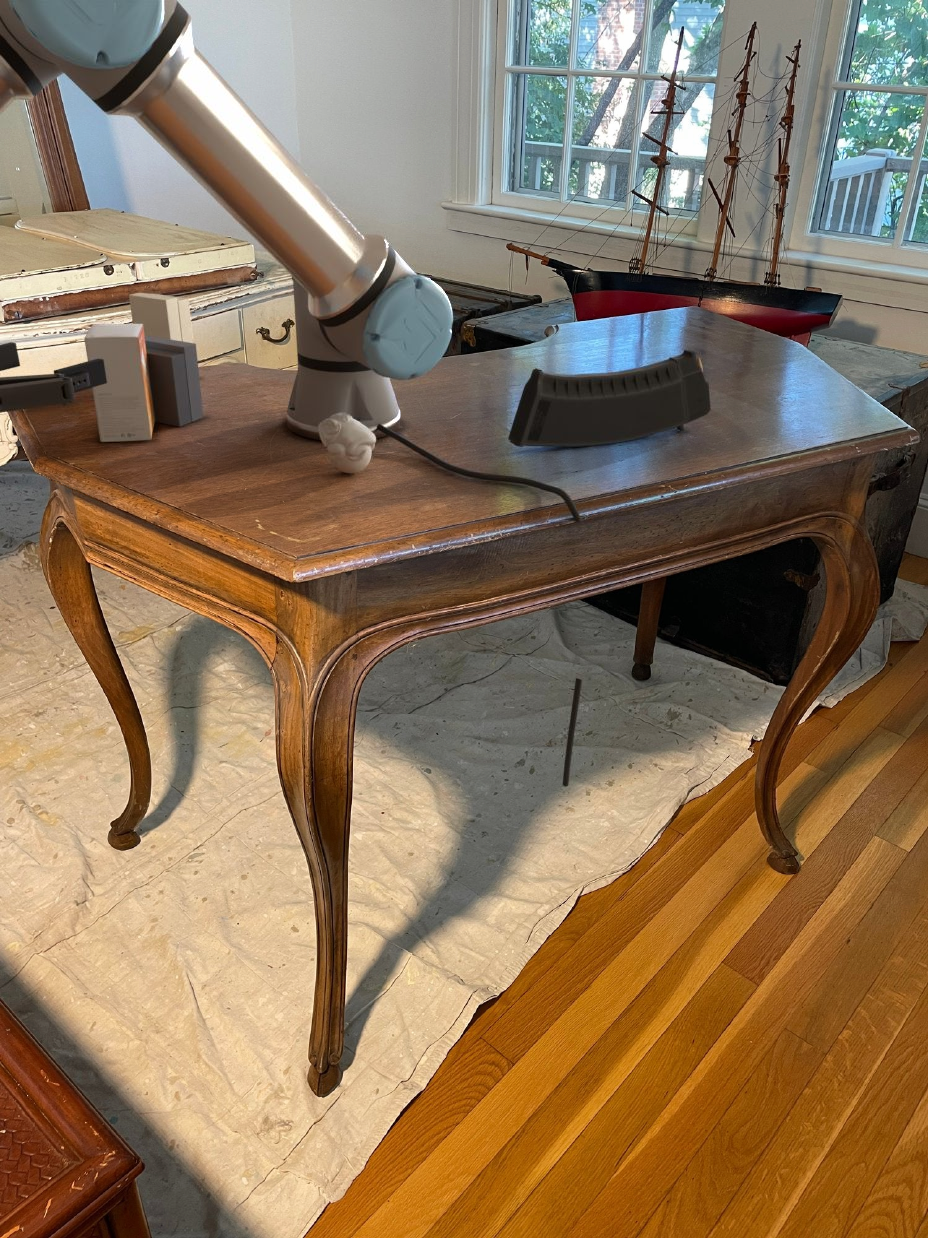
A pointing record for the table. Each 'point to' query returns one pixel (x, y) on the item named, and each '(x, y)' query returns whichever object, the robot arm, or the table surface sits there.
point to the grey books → (174, 381)
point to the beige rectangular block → (162, 316)
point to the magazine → (610, 404)
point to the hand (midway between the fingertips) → (58, 362)
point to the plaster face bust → (347, 442)
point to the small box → (122, 382)
